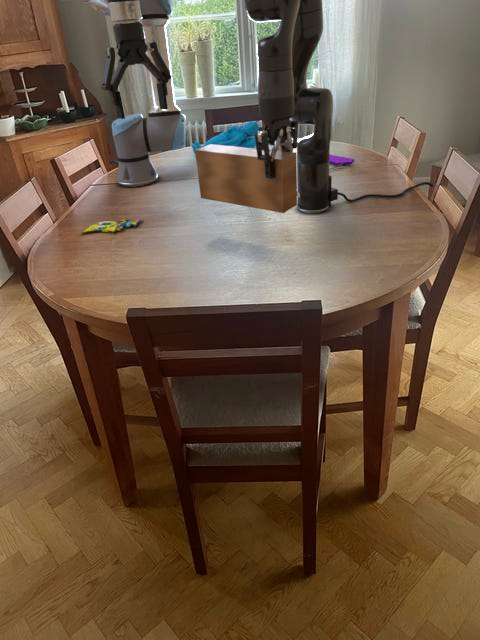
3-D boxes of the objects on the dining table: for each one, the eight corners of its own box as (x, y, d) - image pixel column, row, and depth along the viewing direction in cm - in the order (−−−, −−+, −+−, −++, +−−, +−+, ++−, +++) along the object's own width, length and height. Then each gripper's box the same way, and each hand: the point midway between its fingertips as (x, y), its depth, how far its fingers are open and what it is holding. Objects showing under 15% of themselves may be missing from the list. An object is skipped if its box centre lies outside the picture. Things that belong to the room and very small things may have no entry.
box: (200, 198, 124) (194, 149, 117) (215, 191, 127) (210, 144, 121) (283, 213, 110) (281, 159, 104) (297, 204, 114) (296, 152, 107)
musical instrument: (342, 175, 173) (362, 153, 185) (341, 169, 172) (361, 148, 184) (283, 174, 186) (305, 153, 198) (282, 169, 184) (305, 148, 196)
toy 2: (197, 135, 216) (259, 115, 206) (205, 158, 221) (266, 140, 211) (186, 144, 203) (252, 124, 192) (195, 169, 208) (260, 150, 198)
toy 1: (130, 230, 139) (81, 231, 142) (130, 232, 140) (82, 234, 142) (140, 217, 148) (94, 218, 150) (141, 219, 148) (95, 221, 151)
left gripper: (88, 26, 111) (109, 123, 122) (176, 17, 124) (188, 106, 135) (74, 27, 116) (95, 120, 127) (161, 19, 128) (173, 104, 140)
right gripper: (272, 100, 94) (275, 185, 103) (308, 88, 103) (308, 167, 112) (241, 99, 98) (247, 181, 107) (279, 88, 107) (281, 164, 116)
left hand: (143, 113), depth 131 cm, fingers open, 13 cm apart
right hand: (278, 173), depth 109 cm, fingers closed on box, 6 cm apart
